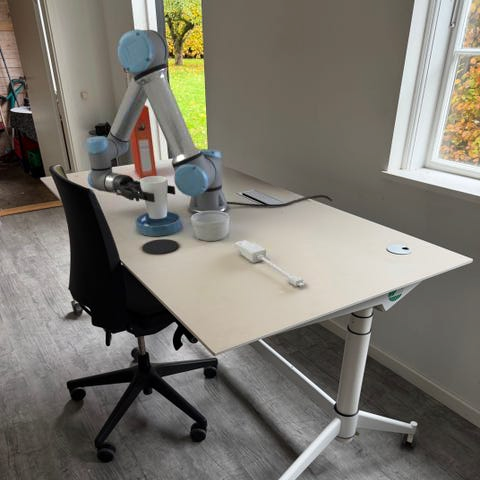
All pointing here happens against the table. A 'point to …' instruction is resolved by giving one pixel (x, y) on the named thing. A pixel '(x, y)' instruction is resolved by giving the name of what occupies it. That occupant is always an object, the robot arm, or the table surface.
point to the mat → (160, 246)
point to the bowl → (158, 224)
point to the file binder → (143, 146)
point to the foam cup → (156, 195)
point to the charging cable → (259, 254)
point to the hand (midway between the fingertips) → (164, 194)
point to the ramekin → (210, 225)
